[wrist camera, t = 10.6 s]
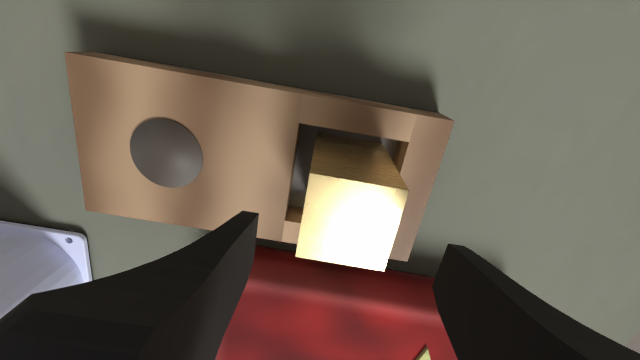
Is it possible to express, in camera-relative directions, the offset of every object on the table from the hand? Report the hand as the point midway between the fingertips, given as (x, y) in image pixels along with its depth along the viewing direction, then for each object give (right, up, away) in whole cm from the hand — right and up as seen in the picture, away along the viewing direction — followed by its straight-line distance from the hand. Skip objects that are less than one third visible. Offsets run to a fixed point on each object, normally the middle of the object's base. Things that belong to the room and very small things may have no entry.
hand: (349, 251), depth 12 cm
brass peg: (0, +3, +8) cm, 9 cm away
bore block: (-5, +4, +8) cm, 10 cm away
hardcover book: (+1, -9, +14) cm, 16 cm away
